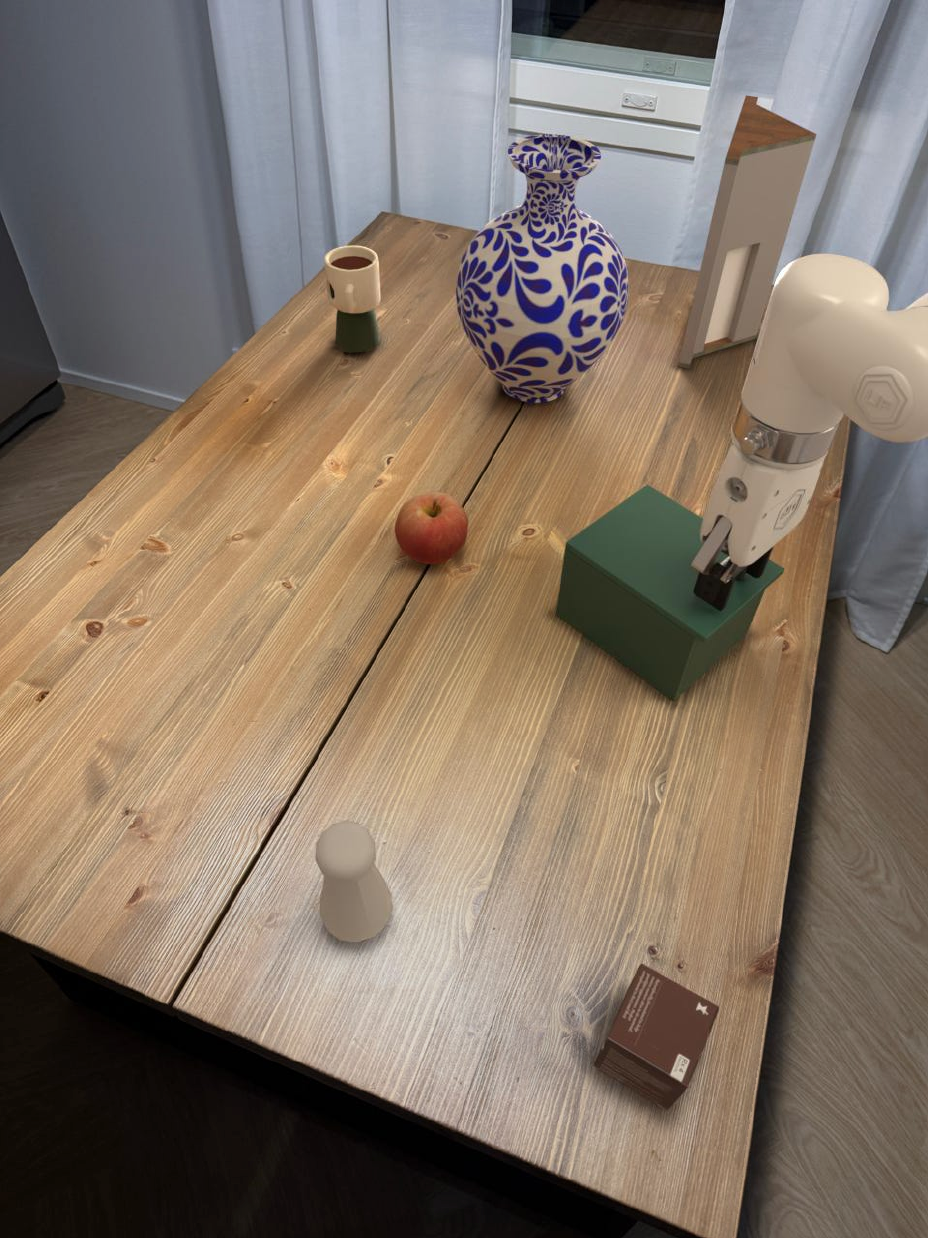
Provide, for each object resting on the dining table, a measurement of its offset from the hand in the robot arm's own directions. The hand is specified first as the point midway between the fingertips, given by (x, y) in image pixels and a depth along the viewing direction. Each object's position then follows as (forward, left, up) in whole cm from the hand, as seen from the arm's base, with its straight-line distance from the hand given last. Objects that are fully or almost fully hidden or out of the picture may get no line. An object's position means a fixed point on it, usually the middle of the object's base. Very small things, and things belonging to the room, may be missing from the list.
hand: (727, 583), depth 82 cm
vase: (+27, -42, -12) cm, 51 cm away
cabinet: (+3, -62, -12) cm, 63 cm away
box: (+1, +39, -12) cm, 40 cm away
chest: (+6, -3, -11) cm, 13 cm away
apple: (+31, -7, -12) cm, 33 cm away
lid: (+5, -3, -1) cm, 6 cm away
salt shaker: (+25, +35, -12) cm, 44 cm away
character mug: (+53, -44, -12) cm, 70 cm away
